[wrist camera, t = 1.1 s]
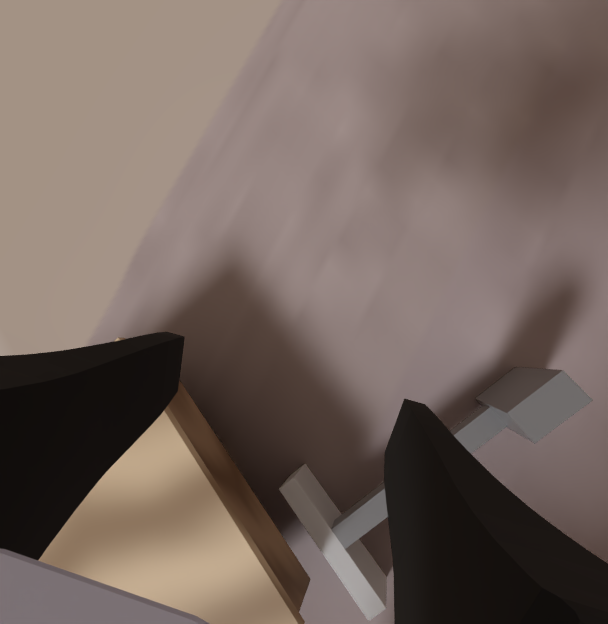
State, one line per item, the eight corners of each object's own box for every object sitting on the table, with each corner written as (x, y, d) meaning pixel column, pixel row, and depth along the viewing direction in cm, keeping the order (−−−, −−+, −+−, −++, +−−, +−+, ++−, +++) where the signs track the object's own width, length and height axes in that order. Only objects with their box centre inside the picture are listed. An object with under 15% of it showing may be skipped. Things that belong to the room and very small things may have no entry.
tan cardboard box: (328, 548, 22) (302, 630, 15) (189, 654, 23) (107, 774, 17) (187, 343, 26) (118, 337, 20) (74, 442, 27) (-28, 469, 21)
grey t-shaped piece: (580, 434, 20) (657, 465, 14) (371, 588, 22) (364, 673, 16) (476, 325, 22) (507, 314, 16) (291, 474, 23) (259, 512, 18)
